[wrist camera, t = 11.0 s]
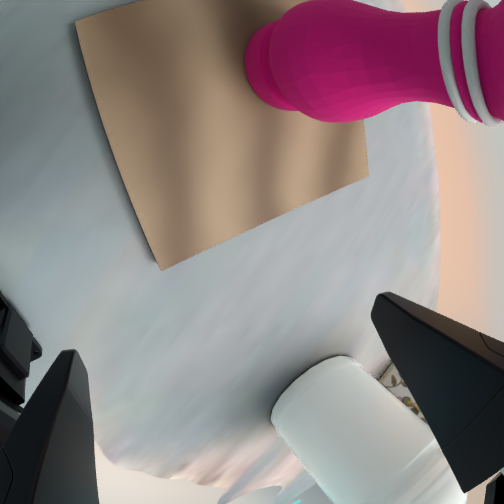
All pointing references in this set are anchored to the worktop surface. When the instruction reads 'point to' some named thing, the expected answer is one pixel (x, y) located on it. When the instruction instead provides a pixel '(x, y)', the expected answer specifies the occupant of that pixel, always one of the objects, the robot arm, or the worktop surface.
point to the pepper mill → (380, 60)
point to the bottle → (362, 439)
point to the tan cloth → (205, 123)
